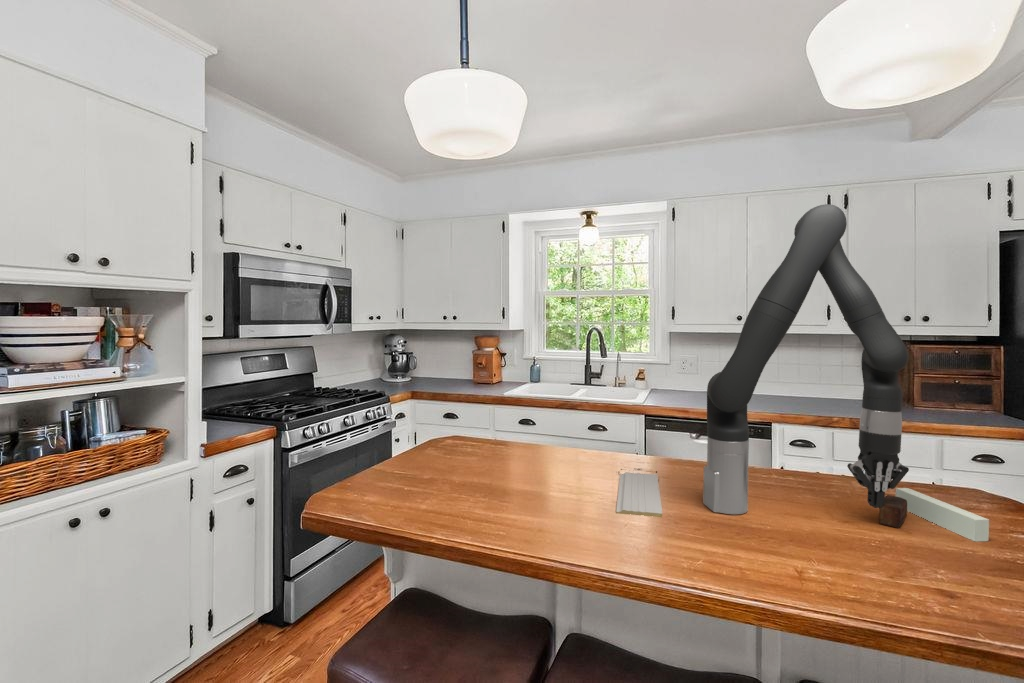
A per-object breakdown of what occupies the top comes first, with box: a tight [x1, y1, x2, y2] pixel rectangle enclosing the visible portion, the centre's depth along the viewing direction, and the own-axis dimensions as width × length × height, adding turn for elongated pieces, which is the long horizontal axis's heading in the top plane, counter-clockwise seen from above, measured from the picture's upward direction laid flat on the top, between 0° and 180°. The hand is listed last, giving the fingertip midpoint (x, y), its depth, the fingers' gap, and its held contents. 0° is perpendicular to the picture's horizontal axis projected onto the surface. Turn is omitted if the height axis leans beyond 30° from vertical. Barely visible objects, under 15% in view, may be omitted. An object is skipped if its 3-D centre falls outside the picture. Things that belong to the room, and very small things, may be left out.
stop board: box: [895, 487, 990, 542], centre depth 113 cm, size 3×20×4 cm, turn 3°
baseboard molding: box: [615, 468, 663, 518], centre depth 132 cm, size 31×3×12 cm
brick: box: [878, 494, 908, 529], centre depth 114 cm, size 11×4×5 cm, turn 135°
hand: (875, 506), depth 111 cm, fingers closed
